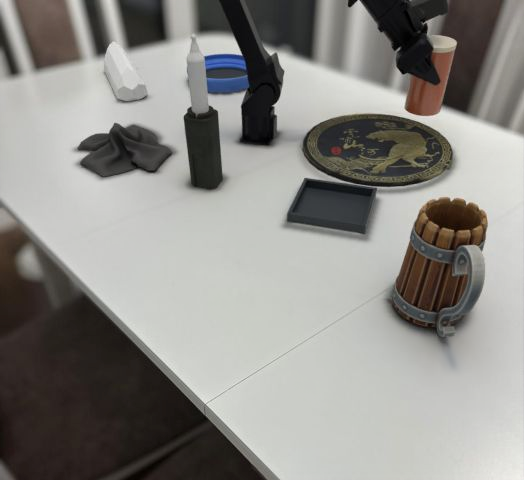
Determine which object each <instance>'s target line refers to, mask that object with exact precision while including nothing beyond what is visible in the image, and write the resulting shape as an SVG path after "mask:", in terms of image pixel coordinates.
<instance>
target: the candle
mask: <svg viewBox="0 0 524 480" xmlns="http://www.w3.org/2000/svg"><path fill="white" fill-rule="evenodd" d="M190 39H191V41H190V48H189V52H188V53H187V56H186V70H187V69H188V74H187V79H188V87H189V96H190V105H191V106H189V107H188V108H187V109H186V113H185V114H184V115H183V124H184V133H185V143H186V150H187V158H188V166H189V176H190V183H191V186H192V187H195V188H197V187H198V188H203V189H207V190H214V189H217V188H218V186H219V185H220V184H221V182H222V181H223V179H224V178H223V176H224V175H223V163H222V151H221V150H222V149H221V136H220V135H221V133H220V121H219V111H218V110H217V109H215V108H214V107H213V106H212V105H210V103H209V94H208V91H207V80H206V68H205V58H204V56H205V55H204V54H203V53H202V52H201V50H200V47H199V44H198V42H197V35H196V34H195V33H192V34H191V36H190Z"/></svg>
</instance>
